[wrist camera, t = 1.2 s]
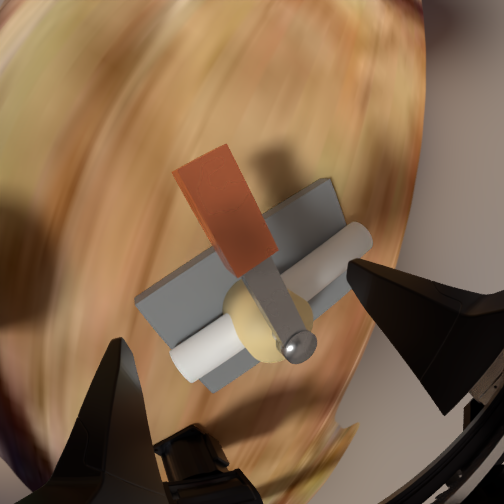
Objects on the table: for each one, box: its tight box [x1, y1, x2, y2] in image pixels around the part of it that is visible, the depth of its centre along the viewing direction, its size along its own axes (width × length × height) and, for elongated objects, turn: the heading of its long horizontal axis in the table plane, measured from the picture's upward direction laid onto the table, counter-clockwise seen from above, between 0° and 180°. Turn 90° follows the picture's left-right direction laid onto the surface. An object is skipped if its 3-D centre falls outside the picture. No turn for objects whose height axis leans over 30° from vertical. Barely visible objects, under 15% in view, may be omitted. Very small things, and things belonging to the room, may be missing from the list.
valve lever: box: [172, 144, 317, 364], centre depth 15 cm, size 14×3×2 cm, turn 28°
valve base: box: [135, 179, 373, 393], centre depth 22 cm, size 20×12×8 cm, turn 118°
